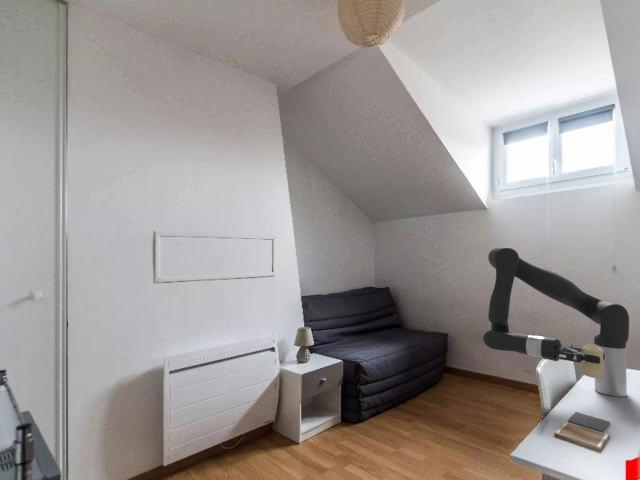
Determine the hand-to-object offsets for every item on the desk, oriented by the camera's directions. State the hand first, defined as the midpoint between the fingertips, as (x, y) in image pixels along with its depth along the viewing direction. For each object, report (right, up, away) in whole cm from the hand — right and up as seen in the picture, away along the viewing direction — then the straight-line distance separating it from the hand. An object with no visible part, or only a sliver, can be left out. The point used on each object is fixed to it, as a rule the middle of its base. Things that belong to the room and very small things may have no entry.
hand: (602, 358), depth 115 cm
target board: (-18, -17, -15) cm, 29 cm away
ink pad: (-9, -17, -7) cm, 21 cm away
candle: (-2, -6, +2) cm, 7 cm away
